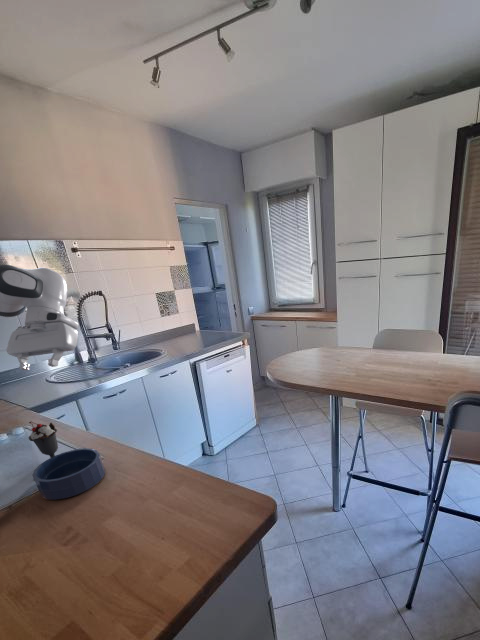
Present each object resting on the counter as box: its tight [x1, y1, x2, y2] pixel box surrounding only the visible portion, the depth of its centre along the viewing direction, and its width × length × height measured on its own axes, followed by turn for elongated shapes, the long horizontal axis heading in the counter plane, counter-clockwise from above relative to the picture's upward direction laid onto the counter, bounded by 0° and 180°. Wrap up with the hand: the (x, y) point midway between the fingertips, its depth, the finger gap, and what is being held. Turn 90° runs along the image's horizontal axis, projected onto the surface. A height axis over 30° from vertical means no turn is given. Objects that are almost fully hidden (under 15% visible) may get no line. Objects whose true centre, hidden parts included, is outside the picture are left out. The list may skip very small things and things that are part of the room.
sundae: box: [28, 420, 59, 459], centre depth 94 cm, size 7×7×15 cm
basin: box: [31, 447, 106, 501], centre depth 87 cm, size 15×15×6 cm
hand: (38, 367), depth 94 cm, fingers open, 8 cm apart
